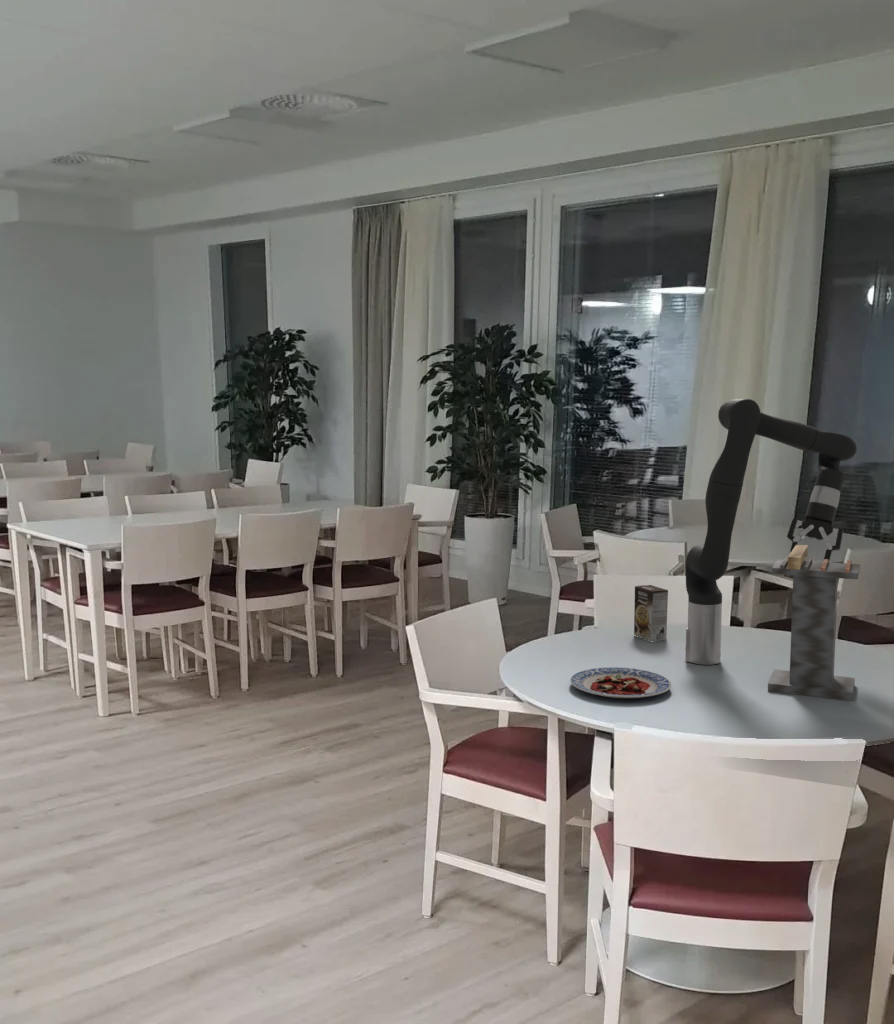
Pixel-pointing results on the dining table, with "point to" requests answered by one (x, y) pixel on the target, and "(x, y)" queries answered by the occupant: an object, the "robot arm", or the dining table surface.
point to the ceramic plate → (620, 682)
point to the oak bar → (797, 557)
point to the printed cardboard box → (650, 612)
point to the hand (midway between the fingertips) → (808, 559)
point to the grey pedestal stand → (814, 631)
